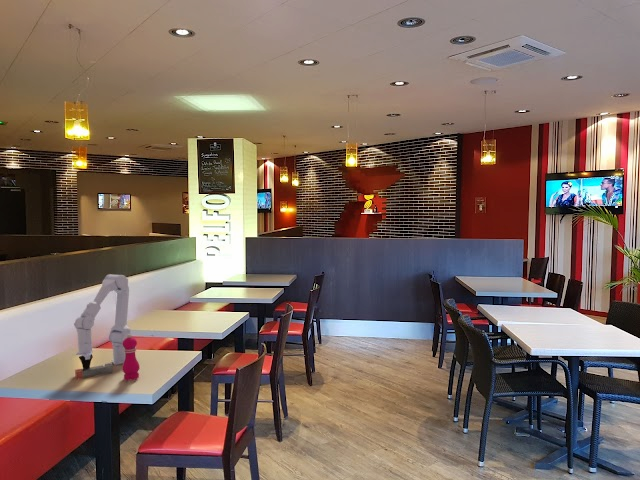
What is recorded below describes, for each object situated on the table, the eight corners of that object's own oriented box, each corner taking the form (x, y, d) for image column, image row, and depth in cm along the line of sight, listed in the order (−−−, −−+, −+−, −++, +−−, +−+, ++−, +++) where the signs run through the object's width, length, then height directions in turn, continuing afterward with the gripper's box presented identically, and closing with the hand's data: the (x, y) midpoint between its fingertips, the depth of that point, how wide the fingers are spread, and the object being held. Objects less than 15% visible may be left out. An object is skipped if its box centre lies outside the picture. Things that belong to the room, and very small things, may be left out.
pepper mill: (143, 375, 224) (141, 332, 222) (132, 381, 217) (130, 336, 216) (130, 374, 226) (128, 331, 225) (119, 379, 219) (117, 335, 218)
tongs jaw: (103, 371, 231) (103, 365, 231) (103, 372, 229) (103, 366, 229) (75, 376, 225) (75, 369, 225) (75, 377, 224) (75, 370, 223)
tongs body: (111, 369, 233) (111, 362, 233) (113, 372, 229) (113, 365, 229) (75, 376, 225) (74, 369, 225) (76, 379, 221) (76, 372, 221)
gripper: (73, 340, 231) (75, 368, 232) (77, 347, 219) (78, 377, 220) (89, 337, 235) (91, 365, 236) (94, 344, 223) (96, 373, 223)
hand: (86, 371), depth 228 cm, fingers closed
